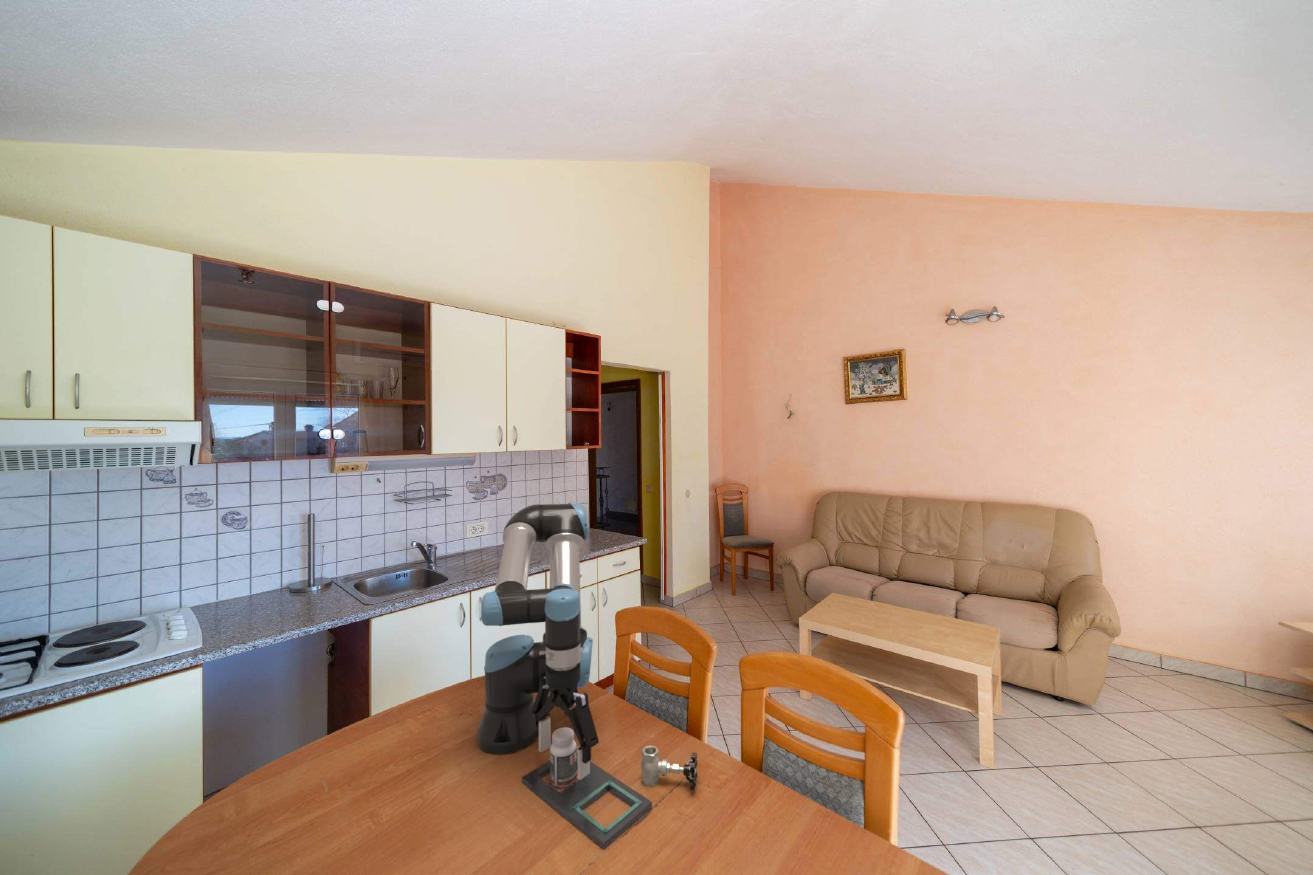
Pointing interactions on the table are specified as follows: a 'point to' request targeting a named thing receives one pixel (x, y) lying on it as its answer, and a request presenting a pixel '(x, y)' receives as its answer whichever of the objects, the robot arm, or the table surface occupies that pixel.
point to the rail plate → (589, 801)
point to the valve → (665, 767)
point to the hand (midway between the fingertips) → (563, 761)
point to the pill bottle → (563, 758)
